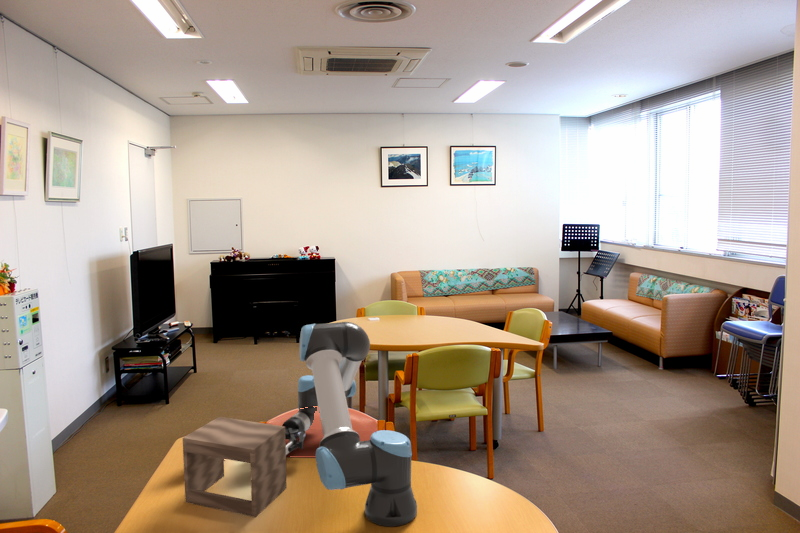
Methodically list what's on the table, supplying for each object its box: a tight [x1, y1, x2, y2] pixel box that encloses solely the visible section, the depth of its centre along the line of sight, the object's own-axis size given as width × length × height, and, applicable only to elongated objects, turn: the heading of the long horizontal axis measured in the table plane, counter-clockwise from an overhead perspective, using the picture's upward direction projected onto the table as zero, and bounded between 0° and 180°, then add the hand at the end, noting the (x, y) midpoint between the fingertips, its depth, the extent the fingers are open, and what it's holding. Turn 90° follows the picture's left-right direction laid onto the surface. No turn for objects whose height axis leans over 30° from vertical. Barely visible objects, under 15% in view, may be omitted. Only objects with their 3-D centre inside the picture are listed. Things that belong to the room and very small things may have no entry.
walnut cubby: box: [182, 416, 287, 518], centre depth 167 cm, size 17×24×20 cm
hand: (263, 450), depth 182 cm, fingers open, 13 cm apart
